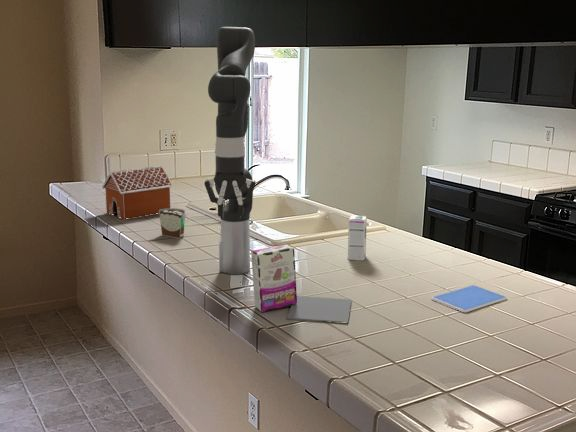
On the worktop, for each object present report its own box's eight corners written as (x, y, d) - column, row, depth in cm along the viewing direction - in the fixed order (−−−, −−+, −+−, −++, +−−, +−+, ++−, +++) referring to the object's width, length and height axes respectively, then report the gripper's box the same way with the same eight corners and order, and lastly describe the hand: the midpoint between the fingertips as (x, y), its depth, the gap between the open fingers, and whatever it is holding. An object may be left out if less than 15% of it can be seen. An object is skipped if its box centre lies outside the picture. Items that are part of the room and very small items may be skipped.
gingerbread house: (102, 213, 274) (99, 168, 269) (153, 204, 291) (152, 162, 286) (122, 221, 261) (120, 174, 256) (175, 212, 278) (174, 167, 273)
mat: (286, 319, 164) (287, 317, 164) (295, 297, 180) (295, 295, 180) (347, 323, 162) (347, 322, 162) (351, 301, 178) (351, 299, 177)
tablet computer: (473, 288, 191) (473, 283, 191) (508, 300, 181) (509, 296, 181) (429, 301, 180) (430, 296, 180) (465, 315, 170) (465, 310, 170)
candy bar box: (289, 298, 177) (287, 243, 174) (297, 304, 173) (295, 247, 169) (253, 306, 172) (250, 249, 169) (260, 312, 168) (258, 254, 164)
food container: (193, 236, 241) (193, 210, 238) (183, 239, 236) (182, 213, 233) (170, 231, 247) (169, 206, 245) (159, 234, 242) (158, 209, 240)
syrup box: (364, 260, 214) (366, 219, 210) (347, 259, 215) (348, 218, 211) (365, 255, 219) (367, 215, 216) (348, 254, 220) (350, 214, 217)
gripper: (257, 152, 166) (257, 214, 170) (204, 151, 166) (205, 214, 170) (257, 156, 159) (256, 221, 163) (200, 155, 159) (202, 221, 163)
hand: (230, 217), depth 167 cm, fingers open, 4 cm apart
